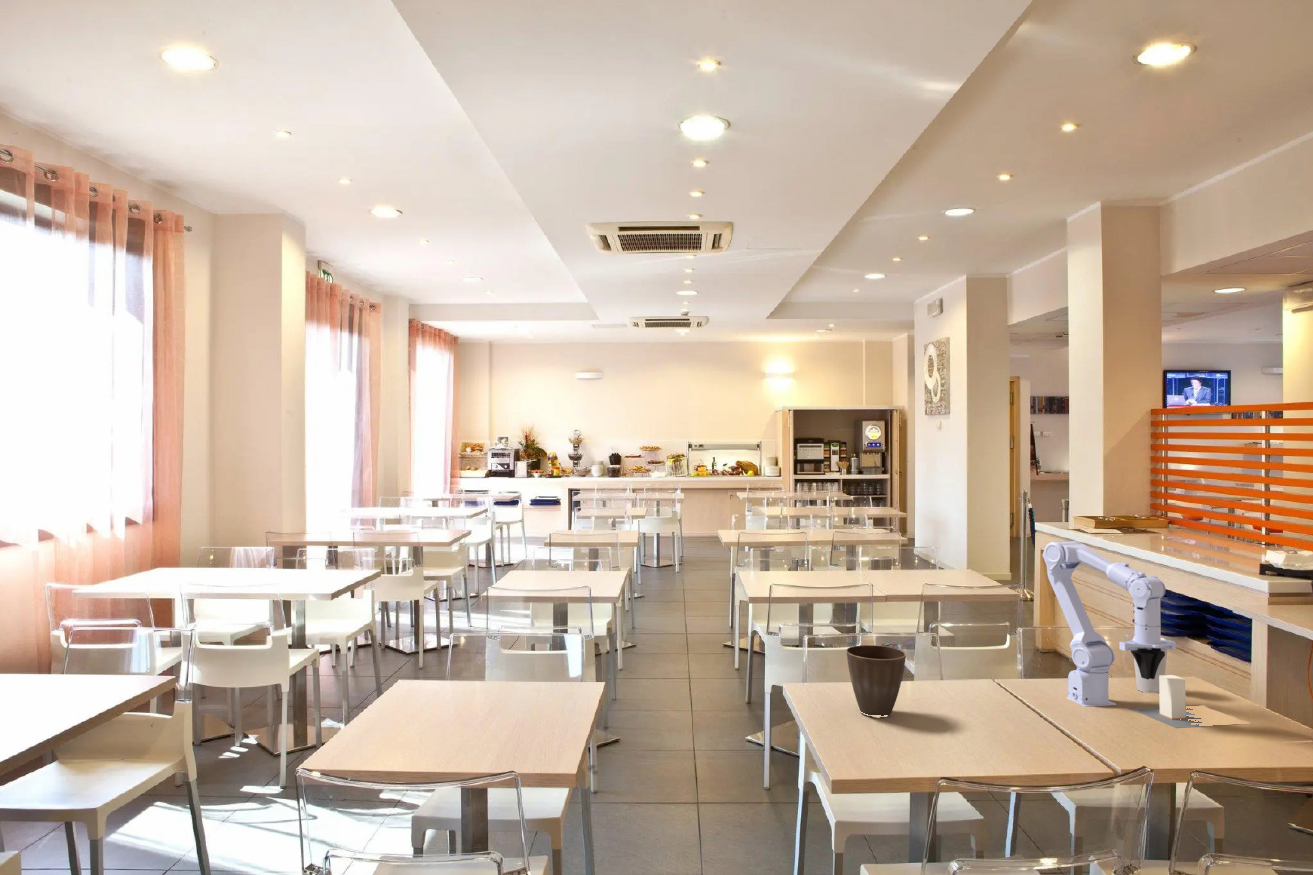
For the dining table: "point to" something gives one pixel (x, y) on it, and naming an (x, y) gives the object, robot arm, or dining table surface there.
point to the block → (1172, 697)
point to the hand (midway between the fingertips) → (1147, 678)
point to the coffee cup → (1150, 684)
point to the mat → (1177, 723)
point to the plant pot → (876, 677)
